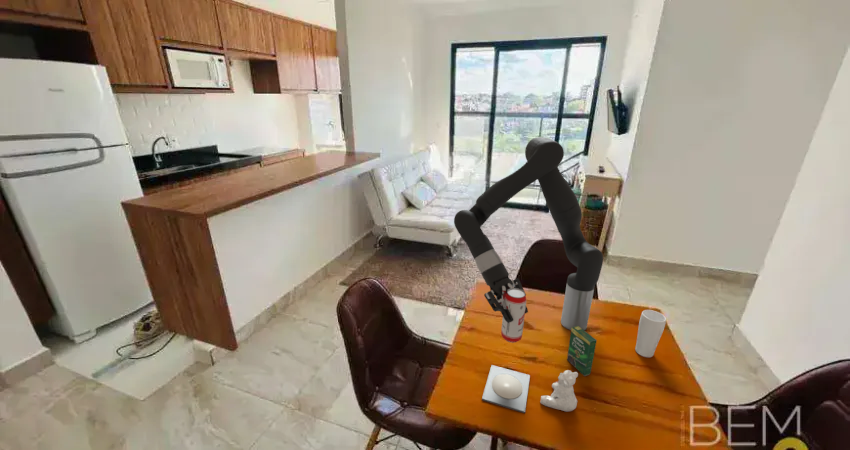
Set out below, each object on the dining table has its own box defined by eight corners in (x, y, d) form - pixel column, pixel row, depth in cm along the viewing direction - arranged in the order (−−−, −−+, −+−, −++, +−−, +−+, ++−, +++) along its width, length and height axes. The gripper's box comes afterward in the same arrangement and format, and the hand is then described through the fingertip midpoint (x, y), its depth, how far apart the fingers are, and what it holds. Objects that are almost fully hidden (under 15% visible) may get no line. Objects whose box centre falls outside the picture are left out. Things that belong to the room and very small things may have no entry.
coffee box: (565, 359, 111) (571, 326, 106) (572, 357, 112) (578, 324, 107) (583, 376, 104) (590, 342, 99) (590, 374, 105) (597, 340, 100)
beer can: (522, 333, 105) (528, 289, 100) (520, 346, 100) (526, 300, 94) (502, 328, 107) (506, 285, 102) (499, 341, 102) (503, 296, 96)
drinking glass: (659, 361, 110) (670, 323, 105) (636, 358, 111) (646, 320, 106) (650, 347, 116) (660, 310, 111) (629, 344, 117) (638, 308, 112)
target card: (491, 366, 108) (491, 364, 108) (529, 376, 104) (530, 374, 104) (481, 400, 96) (482, 397, 96) (524, 413, 92) (525, 411, 92)
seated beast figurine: (554, 384, 101) (559, 352, 97) (582, 402, 95) (589, 369, 91) (538, 402, 95) (542, 369, 91) (567, 422, 89) (573, 388, 85)
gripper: (481, 269, 97) (510, 323, 92) (513, 256, 105) (541, 305, 100) (468, 278, 103) (494, 329, 98) (499, 265, 111) (525, 312, 106)
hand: (518, 317), depth 99 cm, fingers closed on beer can, 6 cm apart
